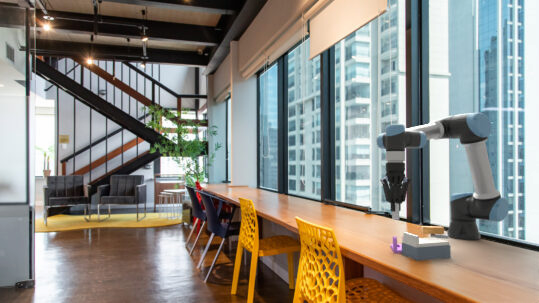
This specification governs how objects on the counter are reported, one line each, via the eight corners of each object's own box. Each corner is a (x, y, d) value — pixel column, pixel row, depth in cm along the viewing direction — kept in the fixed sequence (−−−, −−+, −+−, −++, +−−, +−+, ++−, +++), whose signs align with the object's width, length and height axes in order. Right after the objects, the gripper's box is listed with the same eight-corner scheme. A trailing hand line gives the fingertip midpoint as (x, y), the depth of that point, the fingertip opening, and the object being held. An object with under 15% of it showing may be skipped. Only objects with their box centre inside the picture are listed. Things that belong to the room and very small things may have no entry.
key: (421, 246, 161) (421, 226, 161) (447, 247, 159) (446, 226, 159) (423, 247, 158) (422, 227, 159) (449, 248, 157) (448, 227, 157)
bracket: (407, 254, 151) (407, 237, 152) (393, 253, 152) (393, 237, 153) (402, 246, 164) (402, 231, 164) (390, 246, 165) (389, 231, 165)
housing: (433, 247, 163) (433, 236, 163) (462, 256, 146) (462, 244, 146) (392, 250, 157) (391, 238, 157) (417, 260, 141) (417, 248, 141)
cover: (434, 240, 154) (433, 230, 154) (449, 245, 145) (449, 234, 145) (402, 242, 150) (402, 232, 150) (416, 247, 141) (416, 236, 141)
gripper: (403, 161, 150) (403, 217, 149) (376, 161, 147) (376, 218, 146) (414, 161, 143) (415, 220, 142) (386, 161, 140) (386, 221, 139)
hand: (395, 219), depth 144 cm, fingers closed
